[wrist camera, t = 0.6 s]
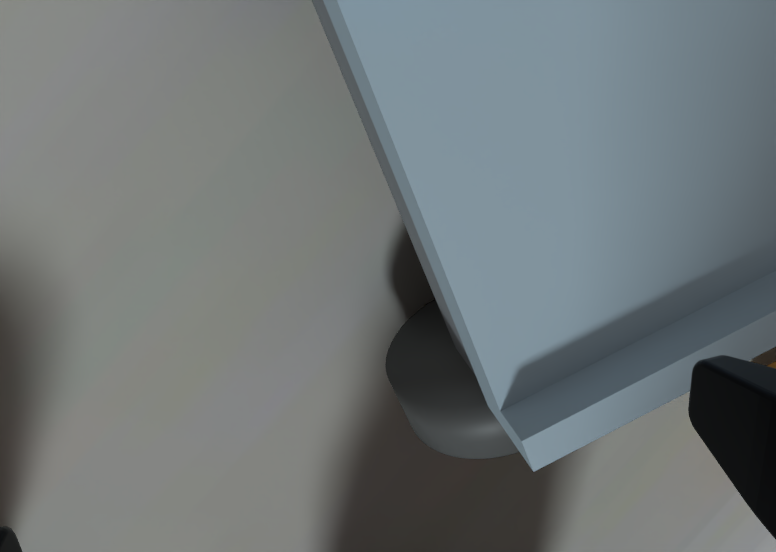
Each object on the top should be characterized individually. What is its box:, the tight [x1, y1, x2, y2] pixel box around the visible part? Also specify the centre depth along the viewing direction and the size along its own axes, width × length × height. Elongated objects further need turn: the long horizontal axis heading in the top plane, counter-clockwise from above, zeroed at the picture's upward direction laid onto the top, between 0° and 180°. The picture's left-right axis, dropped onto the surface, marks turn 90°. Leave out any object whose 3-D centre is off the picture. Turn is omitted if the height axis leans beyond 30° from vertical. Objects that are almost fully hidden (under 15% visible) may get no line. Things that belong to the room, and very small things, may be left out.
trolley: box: [312, 0, 776, 472], centre depth 18 cm, size 19×16×9 cm
